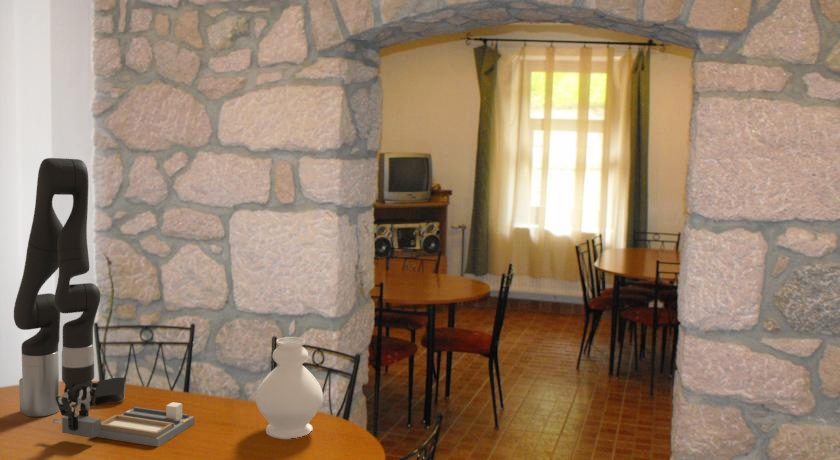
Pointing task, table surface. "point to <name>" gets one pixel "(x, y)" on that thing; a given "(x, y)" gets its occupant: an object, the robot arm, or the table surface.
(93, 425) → the grey block with bolt
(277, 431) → the decorative vase
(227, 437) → the table surface
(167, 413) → the switch tab
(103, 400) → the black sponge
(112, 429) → the switch board
